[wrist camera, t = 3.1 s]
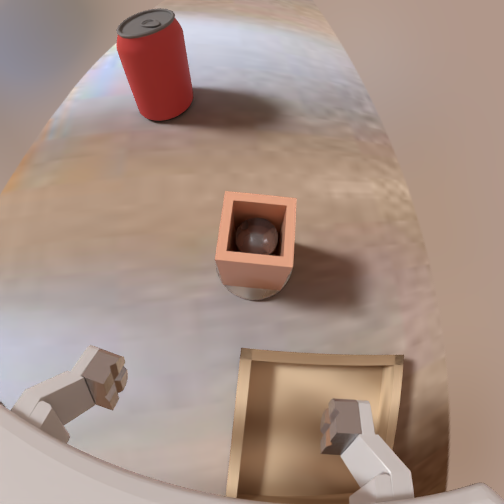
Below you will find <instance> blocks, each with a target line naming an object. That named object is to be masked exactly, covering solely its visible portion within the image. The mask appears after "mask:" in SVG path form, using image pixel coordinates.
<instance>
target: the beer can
mask: <svg viewBox="0 0 504 504" xmlns="http://www.w3.org/2000/svg"><path fill="white" fill-rule="evenodd" d="M117 34H118V37H117V51H118V54H119V57H120V60H121V62H122V65H123V68H124V71H125V74H126V76H127V79H128V82H129V85H130V87H131V90H132V93H133V95H134V98H135V101H136V103H137V106H138V109H139V111H140V113H141V114H142V115H143V116H144V117H145V118H147V119H150V120H156V121H162V120H168V119H171V118H174V117H177V116H178V115H180V114H181V113H183V112H184V111H185V110H186V109H187V108H188V107H189V106H190V104H191V102H192V100H193V89H192V84H191V78H190V72H189V66H188V60H187V54H186V48H185V41H184V35H183V30H182V28H181V25H180V24H179V23H178V21H177V20H176V19H175V14H174V13H173V11H170V10H168V9H151V10H147V11H143V12H140V13H137V14H135V15H133V16H131V17H129V18H127V19H126V20H124V21H123V22H122V23H121V24H120V25H119V26H118V28H117Z"/></svg>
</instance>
